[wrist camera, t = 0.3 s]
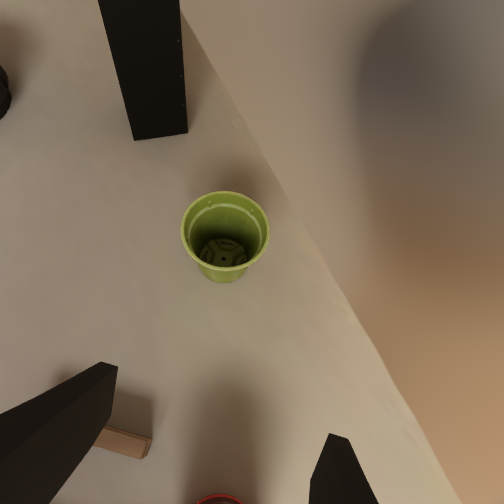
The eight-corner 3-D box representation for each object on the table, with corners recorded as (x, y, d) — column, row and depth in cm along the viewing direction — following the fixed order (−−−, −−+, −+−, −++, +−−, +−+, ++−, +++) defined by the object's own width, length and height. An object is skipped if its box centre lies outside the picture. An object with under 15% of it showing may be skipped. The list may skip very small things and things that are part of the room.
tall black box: (133, 142, 52) (65, -118, 27) (125, 101, 55) (56, -169, 30) (188, 134, 54) (173, -118, 29) (177, 94, 57) (154, -166, 32)
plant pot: (177, 290, 44) (171, 262, 36) (193, 222, 48) (190, 183, 40) (254, 302, 45) (264, 277, 37) (263, 234, 49) (274, 198, 41)
